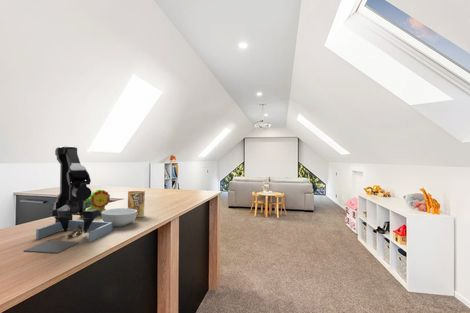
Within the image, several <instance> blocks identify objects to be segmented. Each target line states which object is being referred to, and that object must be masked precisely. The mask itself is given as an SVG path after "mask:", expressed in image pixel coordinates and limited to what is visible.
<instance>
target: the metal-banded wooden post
mask: <svg viewBox="0 0 470 313" xmlns="http://www.w3.org/2000/svg"><path fill="white" fill-rule="evenodd" d="M81 226H82V224H79V225H78V227H77V228H75V229H72V232H70V233H68V234H67V238H69V239H71V238H74V235H75V233H76V236H78V235H80V234H81V233H84V230H82V228H81ZM78 229H80V230H78Z"/></svg>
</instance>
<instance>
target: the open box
mask: <svg viewBox="0 0 470 313" xmlns="http://www.w3.org/2000/svg"><path fill="white" fill-rule="evenodd" d="M79 224H82V226H81V228H82V231H84V221H83V220H75V219H72V220H69V224H68V229H67V230H74V229H75V228H77V227H78V225H79ZM35 230H36V231H35V239H36V240H39V239H42V238H45V237H47V236H50V235H53V234H55V233H58V231H59V232H61V231H64V230H63V227H62V225H61V223H60V222H58V223H55V222H54V223H51V224H48V225H46V226H42V227H39V228H36V229H35ZM78 231H80V229H78ZM113 231H114V226H113V222H104V221H94V220H93V221H92V223H91V225H90V227H89V229H88V239H87V240H88V243H91V242H93V241H96V240H97V239H99V238H102V237H104V236H105V235H107V234H109V233H112V232H113Z"/></svg>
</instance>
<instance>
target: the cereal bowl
mask: <svg viewBox="0 0 470 313" xmlns="http://www.w3.org/2000/svg"><path fill="white" fill-rule="evenodd" d="M136 215H137V210H135V209H128V207H125V208H124V207H121V208H110V209H109V208H108V209H106V210H105V211H102V215H101V219H102V220H101V221H102V222H113V227H125V226H127V225H128V224H130V223H132V222H134V221H135V219H136V218H137V217H136Z"/></svg>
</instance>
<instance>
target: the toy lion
mask: <svg viewBox="0 0 470 313" xmlns="http://www.w3.org/2000/svg"><path fill="white" fill-rule="evenodd" d="M110 197H111V195H110V194H109V192H108V191H106V190H104V189H96V190H95V191H93V192H91V196H90V197H89V198H88V199H86V201H84V208H86V207H85V206H86V204H87V203H88V202H90V204H91V205H90V206H89V207H88V208H86V210H84V211H87V210H90V209H97V210H99V211H100V216H102V211H105V210H107V208H105V207H106V206H108V205H109V203H110V201H111V198H110ZM79 217H82V218H84V217H83V215H79Z"/></svg>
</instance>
